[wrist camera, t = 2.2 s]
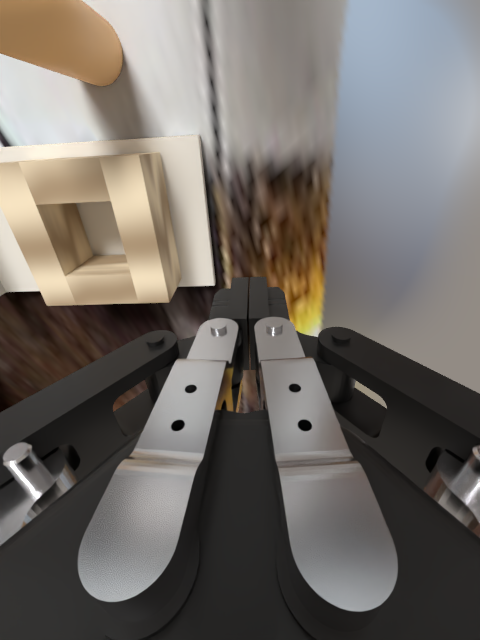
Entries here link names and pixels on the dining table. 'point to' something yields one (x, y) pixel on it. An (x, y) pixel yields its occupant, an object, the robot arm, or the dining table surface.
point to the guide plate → (98, 217)
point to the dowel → (61, 38)
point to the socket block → (69, 234)
